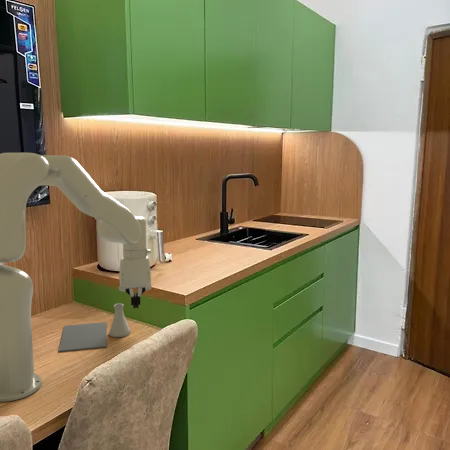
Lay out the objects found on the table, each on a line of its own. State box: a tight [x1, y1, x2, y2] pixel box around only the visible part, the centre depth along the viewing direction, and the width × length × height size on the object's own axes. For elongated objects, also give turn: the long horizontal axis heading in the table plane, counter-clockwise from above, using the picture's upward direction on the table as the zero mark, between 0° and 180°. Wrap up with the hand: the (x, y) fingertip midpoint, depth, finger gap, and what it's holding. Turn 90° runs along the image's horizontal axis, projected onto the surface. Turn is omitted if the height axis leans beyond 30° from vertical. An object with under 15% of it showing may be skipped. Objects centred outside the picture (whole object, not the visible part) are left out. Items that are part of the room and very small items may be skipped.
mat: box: [58, 321, 108, 353], centre depth 141 cm, size 14×20×1 cm
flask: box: [108, 303, 131, 338], centre depth 143 cm, size 7×7×10 cm
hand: (135, 306), depth 144 cm, fingers closed
